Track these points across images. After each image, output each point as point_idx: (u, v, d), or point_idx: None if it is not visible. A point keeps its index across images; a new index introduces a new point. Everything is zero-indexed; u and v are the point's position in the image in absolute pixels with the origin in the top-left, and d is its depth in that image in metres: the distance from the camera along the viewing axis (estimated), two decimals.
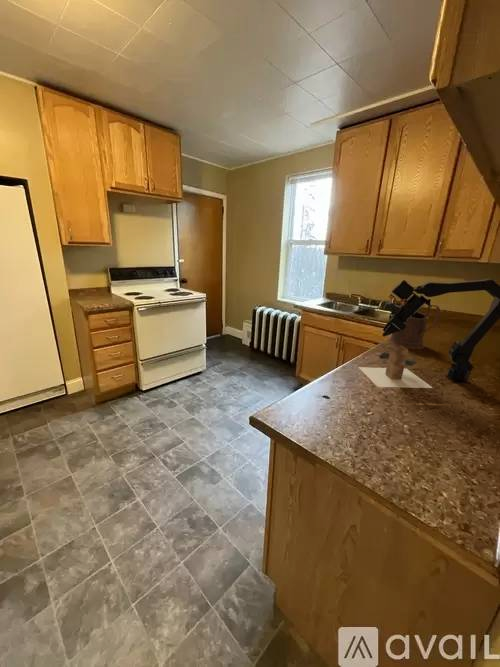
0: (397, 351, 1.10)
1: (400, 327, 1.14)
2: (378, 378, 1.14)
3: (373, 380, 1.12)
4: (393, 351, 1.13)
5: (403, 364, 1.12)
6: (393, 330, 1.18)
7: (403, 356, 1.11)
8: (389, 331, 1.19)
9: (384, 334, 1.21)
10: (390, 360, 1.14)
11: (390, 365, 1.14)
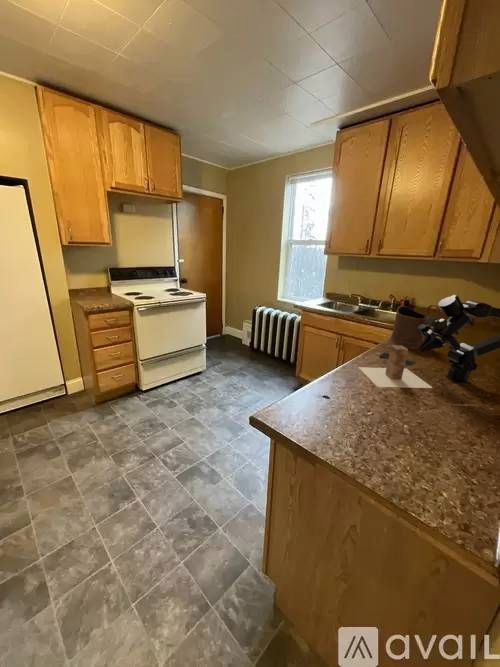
0: (397, 351, 1.10)
1: (455, 348, 1.03)
2: (378, 378, 1.14)
3: (373, 380, 1.12)
4: (393, 351, 1.13)
5: (403, 364, 1.12)
6: (434, 346, 1.11)
7: (403, 356, 1.11)
8: (429, 346, 1.11)
9: (423, 349, 1.12)
10: (390, 360, 1.14)
11: (390, 365, 1.14)
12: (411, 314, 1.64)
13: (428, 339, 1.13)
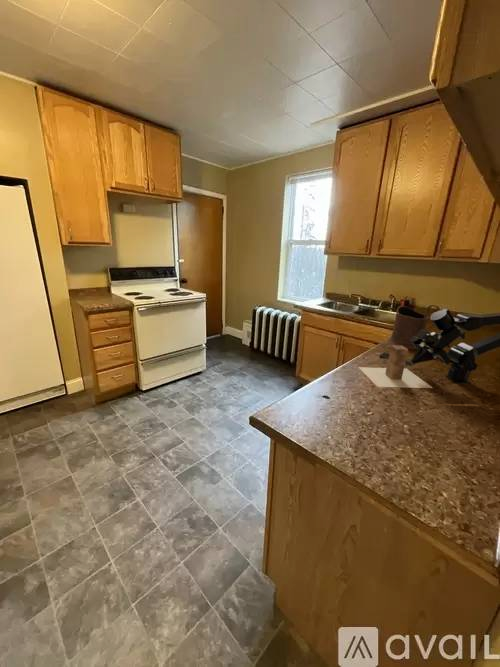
0: (397, 351, 1.10)
1: (446, 361, 1.05)
2: (378, 378, 1.14)
3: (373, 380, 1.12)
4: (393, 351, 1.13)
5: (403, 364, 1.12)
6: (425, 358, 1.12)
7: (403, 356, 1.11)
8: (421, 359, 1.13)
9: (414, 361, 1.14)
10: (390, 360, 1.14)
11: (390, 365, 1.14)
12: (411, 314, 1.64)
13: (420, 352, 1.14)
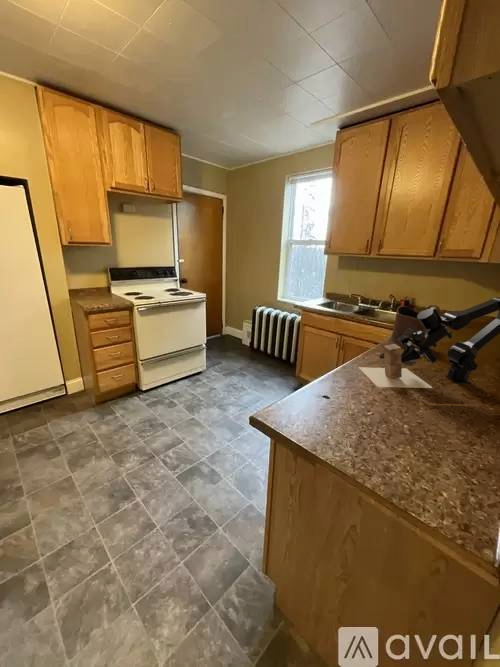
0: (390, 351, 1.10)
1: (432, 360, 1.04)
2: (378, 378, 1.14)
3: (373, 380, 1.12)
4: (386, 351, 1.13)
5: (399, 362, 1.12)
6: (412, 357, 1.12)
7: (397, 355, 1.11)
8: (408, 358, 1.12)
9: (401, 360, 1.13)
10: (386, 360, 1.14)
11: (387, 365, 1.14)
12: (411, 314, 1.64)
13: (407, 351, 1.14)
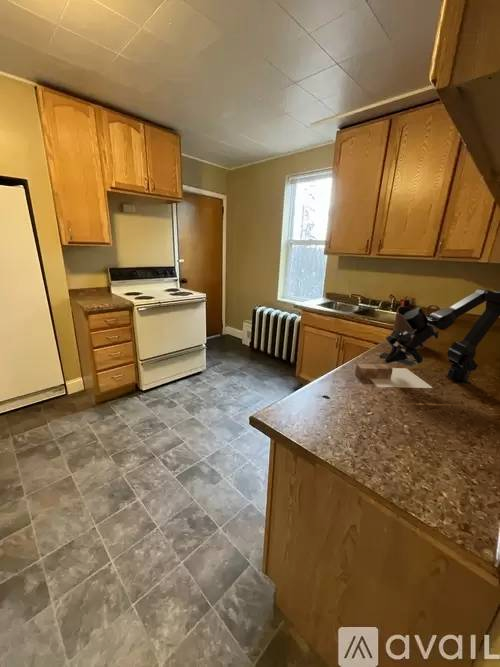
0: (361, 377, 1.13)
1: (418, 361, 1.04)
2: None
3: (373, 380, 1.12)
4: None
5: (376, 370, 1.12)
6: (399, 358, 1.12)
7: (367, 371, 1.12)
8: (395, 358, 1.12)
9: (388, 361, 1.13)
10: None
11: None
12: None
13: (394, 351, 1.13)
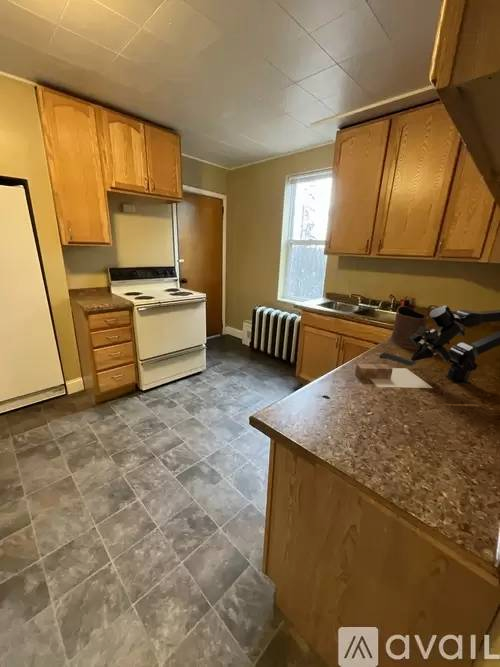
0: (361, 377, 1.13)
1: (446, 358, 1.04)
2: None
3: (373, 380, 1.12)
4: None
5: (376, 370, 1.12)
6: (425, 355, 1.12)
7: (367, 371, 1.12)
8: (421, 356, 1.12)
9: (414, 359, 1.13)
10: None
11: None
12: (411, 314, 1.64)
13: (420, 349, 1.14)
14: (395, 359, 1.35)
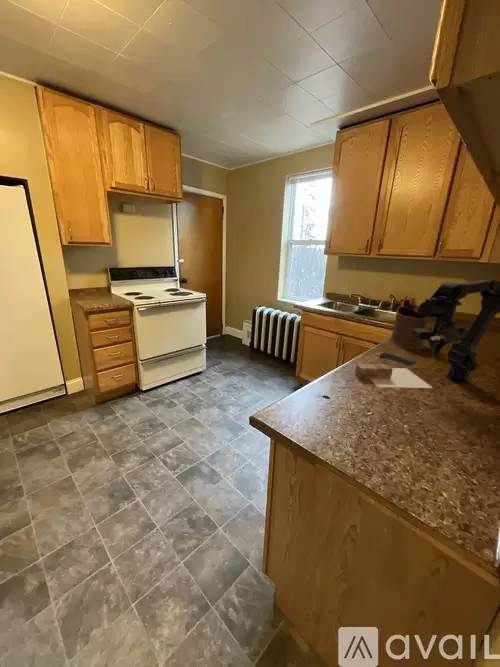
0: (361, 377, 1.13)
1: None
2: None
3: (373, 380, 1.12)
4: None
5: (376, 370, 1.12)
6: None
7: (367, 371, 1.12)
8: None
9: None
10: None
11: None
12: (411, 314, 1.64)
13: None
14: (395, 359, 1.35)
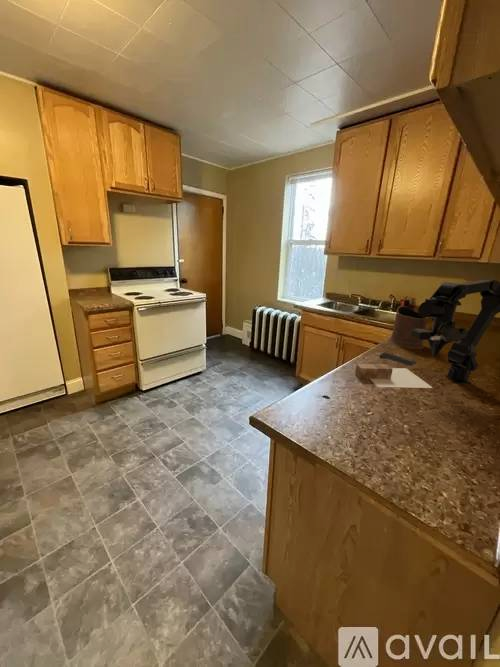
0: (361, 377, 1.13)
1: None
2: None
3: (373, 380, 1.12)
4: None
5: (376, 370, 1.12)
6: None
7: (367, 371, 1.12)
8: None
9: None
10: None
11: None
12: (411, 314, 1.64)
13: None
14: (395, 359, 1.35)
